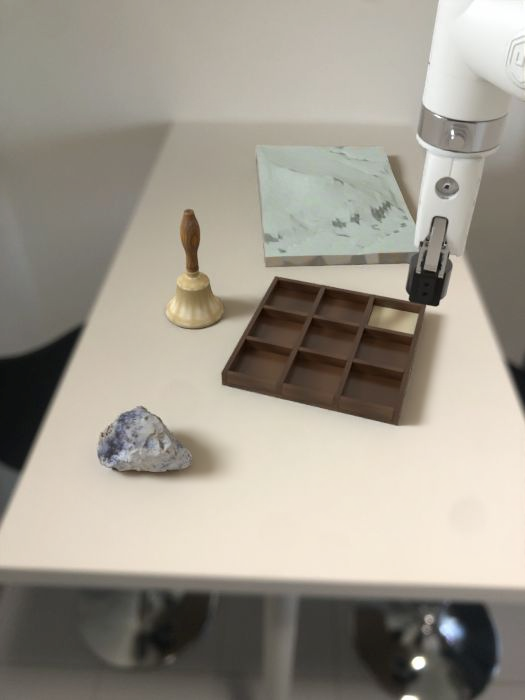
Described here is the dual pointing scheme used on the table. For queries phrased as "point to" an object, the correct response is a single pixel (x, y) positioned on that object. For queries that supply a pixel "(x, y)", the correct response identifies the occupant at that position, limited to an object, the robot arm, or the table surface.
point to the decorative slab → (331, 207)
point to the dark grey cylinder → (414, 265)
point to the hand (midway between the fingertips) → (426, 287)
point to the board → (329, 349)
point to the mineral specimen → (141, 444)
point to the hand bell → (193, 284)
